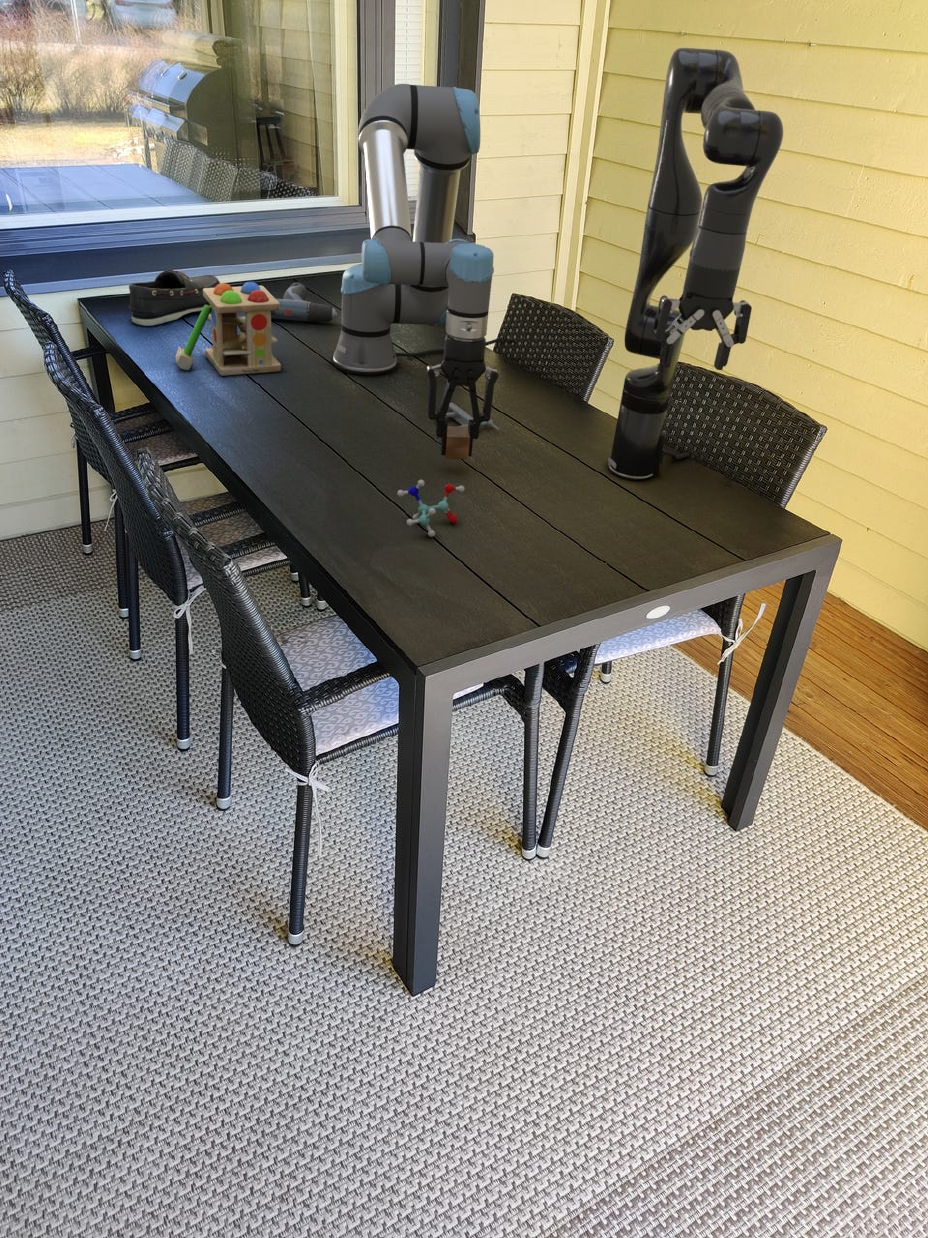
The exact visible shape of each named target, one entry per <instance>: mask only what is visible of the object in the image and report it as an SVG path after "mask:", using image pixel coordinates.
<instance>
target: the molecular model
mask: <svg viewBox="0 0 928 1238" xmlns="http://www.w3.org/2000/svg"><path fill="white" fill-rule="evenodd" d="M425 484H426V483H425V480H424V479H419V480H418V481H417V484H416V485H415V486H411V487H410V488H409V489H408V490H403V489H399V490H398V491H397V496H398V497H400V498H402V497H404V496H405V495H410V496H412V497H415V499H416V501H417V503H418V505H419V506H418V509H417V510H418V512H417V513H415V514H413V516H412V518H408V519H407V520H406V525H407V526H408V527H411V526H412V527H413V525H414V524H420V525H422V526H425V527H426V530H427V531H428V532H427V535H428V536H429V537H430V538H434V537H435V536H436V532H435V531H434V529H432V528H431V526H430V524H429V523H430V521H431V519H430V518H431V516H434V515H436V512H437V511H436V510H439V511H441V512H443V513H444V514H445V516H446V517H447V518H448V522H449V523H450V524H456V523H457V522H458V516H457V515H456V514H454V513H453V512H452V511H451V509H450V508H449V504H448V502H447V501H448V499H449V495H450V494H452V492H453V491H456V492H457V491H458V492H459V493H463V492H465V489H466V488H465V486H464V485H459V486H453V485H452V484H451V483H447V484H445V486H444V491H445V493H444V497H443V500H441V501H439V502H438V503H437V505H429V506H428V505H427V504H425V503H423V501H422V500H421V497H420V496H419V494H420V488H422V487H424V486H425Z"/></svg>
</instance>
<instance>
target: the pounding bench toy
mask: <svg viewBox="0 0 928 1238" xmlns="http://www.w3.org/2000/svg"><path fill="white" fill-rule="evenodd" d="M203 296H204V297H205V299H206V300H207V301H208V302H209V304H210V305H211V307H210V306H208V305H204V307H203V309H202V311H200V313H199V316H198V318H197V320H196V322H195V324H194V327H193V329H192V331H191V332H190V333H191V334H190V336H189V338H188V340H187V343H186V344H185V347H184V348H182V347H180V346H179V347H178V349H177V351H176V354H175V357H174V358H175V362H176V365H177V366H178V368H179V369H182V370H185V371H189V370H190V369H191V367H192V365H193V363H194V356H193V351H194V348H195V347H196V345H197V342H198V340H199V337H200V336H201V333H202V332H203V329H204V326H205V325H206V322H207V320H209V321H210V322H211V336H212V337H211V338H212V339H211V340H212V348H205V349H204V352H205V353H204V355H205V357H206V359H208V361H209V363H210V364H211V365H212V366H213V367H214V369H215V370H216V371H217V372H218V374H219V375H220V376H222V377H223V376H234V375H235V376H236V375H246V374H247V375H250V374H262V373H275V372H281V370H282V364H281V363H280V362H279V360H278V359H277V358H276V357H275V356H274V355H273V348H272V347H273V345H272V344H276V343H278V342H279V341H278V339H277V338H276V337H275V336H274V334H272V318H271V310H280V303H279V302H278V301H277V300H276V299H277V298H276V297H274V296H273V295H272V294H271V293H270V292H269V290H268V289H267V288H266V287H264V285H259V284H257V283H256V282H255V281H247V282H245V283H244V284H243V285H242V286H232V285H230V284H229V283H226V282H220V284H218V285H217V286H216V287H215V288H204V289H203ZM238 313H244V314H245V315H244V316H238ZM238 329H239V331H240V333H239V334H238Z"/></svg>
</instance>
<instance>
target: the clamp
mask: <svg viewBox="0 0 928 1238" xmlns="http://www.w3.org/2000/svg"><path fill="white" fill-rule="evenodd" d="M449 418H452V419H453V420H455V421H456V422H457V423H458V424H460V425H458V426H459V427H468V424H469V419H470V420H473V416H472V415H470V414H468V413H467V412H466V411H464V410H463V409H462V408H461V407H459V406H458V405H457V404H455V403H454V402H450V404H449V407H448V411H447V414H446V417H445V419H449ZM483 426H485V427H492V428H494V429H495V430H496V432H497V433H501V431H502V428H501V427H498V426H496V425H495V424H494V421H493V419H490V420H489V421H488V422H485V421H484V422H482V423H481V425H480V427H483Z"/></svg>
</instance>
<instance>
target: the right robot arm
mask: <svg viewBox="0 0 928 1238" xmlns="http://www.w3.org/2000/svg"><path fill="white" fill-rule="evenodd" d="M684 114H694V115H695V114H699V115H700V122H701V124H702V127H703V128H704V133H703V140H702V149H703V154H704V156H705V158H706V159H707V160H708V161H710V162H712V163H713V164H718V165H725V166H738V167H745V168H744V169H743V171H742V172H741V173H740V174H739V175H738V176H737V177H735V178H733V179H730V180H724V181H717V182H713V183H711V184H709V185H708V186H707V188H706V189H705V192H704V196H703V193H702V190H701V186H700V184H699V181H698V178H697V175H696V173H695V170H694V168H693V166H692V163H691V162H690V159H689V156H688V153H687V149H686V147H685V142H684V138H683V126H682V122H683V116H684ZM783 141H784V125H783V121H782V119H781V117H780V116H779V115H778V114H777V113H776V112H774V111H770V110H761V109H759V110H757V109H756V108H755V106H754V104H753V103H752V101H751V99H750V98H749V97H748V96H747V94H746V93H745V90H744V83H743V77H742V74H741V69H740V65H739V62H738V59H737V57H736V56H735V55H734V54H733V53H732V52H730V51H728V50H724V49H710V48H696V47H680V48H676V50H674V51H673V53H672V54H671V56H670V59H669V63H668V65H667V71H666V76H665V84H664V92H663V100H662V110H661V119H660V128H659V136H658V146H657V152H656V153H657V154H656V159H655V165H654V169H653V170H654V171H653V175H652V181H651V186H650V192H649V197H648V201H647V207H646V212H645V213H646V214H645V218H644V219H645V220H644V226H643V233H642V235H643V236H642V242H641V249H640V257H639V264H638V270H637V275H636V281H635V286H634V289H633V292H632V297H631V301H630V307H629V312H628V315H627V316H628V317H627V320H626V321H627V322H626V325H625V326H626V327H625V332H624V348H625V350H626V351H627V352H628V353H631V354H634V355H639V356H642V357H646V358H647V357H648V358H652V359H656V360H659V363H657V364H655V365H652V366H647V367H639V368H635V369H633V370H630V371H629V372H627V374H626V375H625V377H624V381H623V387H622V393H621V398H620V405H619V408H618V409H619V410H618V415H617V421H616V425H615V430H614V436H613V442H612V448H611V453H610V456H608V460H607V463H608V466H607V467H608V470H609V471H610V473H611V474H613V475H615V476H617V477H618V478H621V479H625V480H631V481H645V480H651V478H658V474H659V470H660V465H663V463H664V458H665V456H670V457H671V459H672V460H674V461H679V460H683V459H686V458H689V457H690V453H689V452H683V453H679V454H676V453H675V452H674V451H672V450H666V449H665V448H664V446H665V441H666V437H667V432H666V431H665V430H664V427H665V423H666V417H667V414H668V413H667V412H668V407H669V403H670V398H671V394H672V390H673V385H674V384H673V383H674V380H675V376H676V375H675V374H676V371H677V366H678V362H679V358H680V354H681V351H682V347H683V344H684V341H685V336H686V333H687V332H688V330H690V329H691V330H692V331H701V330H704V331H707V332H713V330H715V331H716V332H717V334H718V336H719V338H720V340H721V341H720V342H719V343H718V345H717V350H716V353H715V358H714V363H713V367H714V368H715V369H716V370H717V371H722V370H723V369H724V367H726V366H727V365H728V362H729V358H730V355H731V349H732V347H733V346H735V345H739V344H740V345H743V344H744V343H746V341H747V335H748V330H749V325H750V320H751V315H752V310H753V309H752V305H750V303H749V302H747V301H746V300H743V299H741V300H740V301H739V302H734V301H733V299H734V295H735V292H736V288H737V284H738V280H739V275H740V271H741V266H742V263H743V259H744V255H745V250H746V244H747V243H746V241H747V234H748V230H749V226H750V221H751V218H752V217H751V216H752V212H753V208H754V204H755V201H756V198H757V196H758V194H759V191H760V189H761V187H762V185H763V182H764V181H765V178H766V177H767V174H768V173H769V171H770V169H771V168H772V165H773V163H774V162H775V159H776V158H777V156H778V154H779V151H780V150H781V147H782V143H783ZM690 248H691V249H690ZM689 249H690V251H689V260H688V265H687V269H686V273H685V279H684V283H683V289H682V293H681V296H680V297H679V299H678V298H669V297H668V296H667V295H662V296H661V297H660V298H659V301H658V305H652V304H651V301H652V300H651V299H652V296H653V293H654V291H655V290H656V288H657V286H658V285H659V283H660V282H661V281H662V279H664V277H665V276H666V274H667V273H668V272H669V271H670V270H671V269H672V268H673V266H674V265H675V264H676V263H678V261H679V260H681V258H682V257H683V256H684V254H685V253H686V252H688V250H689ZM677 309H678V310H677ZM732 313H733V314H734V316H735V321H734V328H733V333H730V330H729V328H728V326H727V324H726V321H725V320H726V319H727V318H728V317H729V316H730V315H731V314H732Z"/></svg>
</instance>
